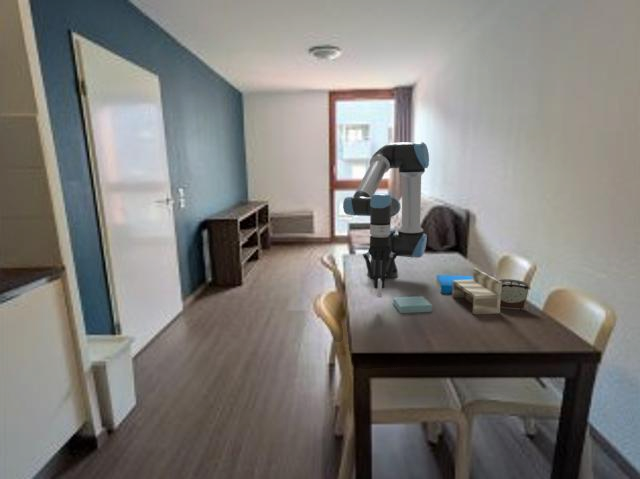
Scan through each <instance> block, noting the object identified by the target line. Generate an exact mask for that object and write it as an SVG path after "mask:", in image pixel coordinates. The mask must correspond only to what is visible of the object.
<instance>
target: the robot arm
mask: <svg viewBox="0 0 640 479" xmlns="http://www.w3.org/2000/svg"><path fill="white" fill-rule="evenodd" d="M429 156H430V155H429V148H428V147H427V144H426V143H425V142H423V141H408V142H407V141H405V142H391V143H387V144H385V145H384V146H382V147H380V148H379V149H377V150H376V151H375V153H374V154H373V155H372V156H371V158H370V159H369V167H368V168H367V170H366V172H365V174H364V176H363V177H362V179H361V181H360V184H359V185H358V187H357V189H356V190H355V192H354V194H353V196H346V197H345V198H344V199H343V203H342V204H343V205H342V208H343V209H342V210H343V213H345V214H346V215H347V216H348V215H350V216H356V217H357V216H361V217H369V218H370V219H369V221H370V223H369V224H370V225H369V235H370V236H369V248H368V250H367V252H365V253H363V254H362V257H363V258H364V261H365V265H366V270H367V276H368V277H369V279H370V280H373V288H374V289H375V290H376V291H375V295H376V297H377V298H382V297H383V295H382V294H383V290H382V289H384V288H385V281H386V280H388V279H394V278H396V277H398V275H399V270H398V268H397V264H396V258H397V257H404V258H405V257H406V258H412V259H413V258H415V259H417V258H422V257H423V256H424V253H425V250H426V246H427V241H428V240H427V239H428V235H427V234H426V233H424V228H422V227H421V209H422V208H421V204H422V203H421V202H422V201H421V200H422V199H421V198H422V175H423V174H424V173H425V172H426V169H428V167H429V165H430V157H429ZM390 169H398V173H399V175H401V176H402V177H401V180H402V181H401V202H400V200H399V199H398V198H396V197H394V196H392V195H391V194H389V193H376V191H377V190H378V188H379V186H380V184H381V181H382V180H383V178H384V175H385V174H386V173H387V172H389V170H390ZM400 210H401V226H400V227H399V228H398V231H396V229H395V228H391V223H392V222H391V220H392V217H395V216H397V214H398V213H399V212H400Z"/></svg>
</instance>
